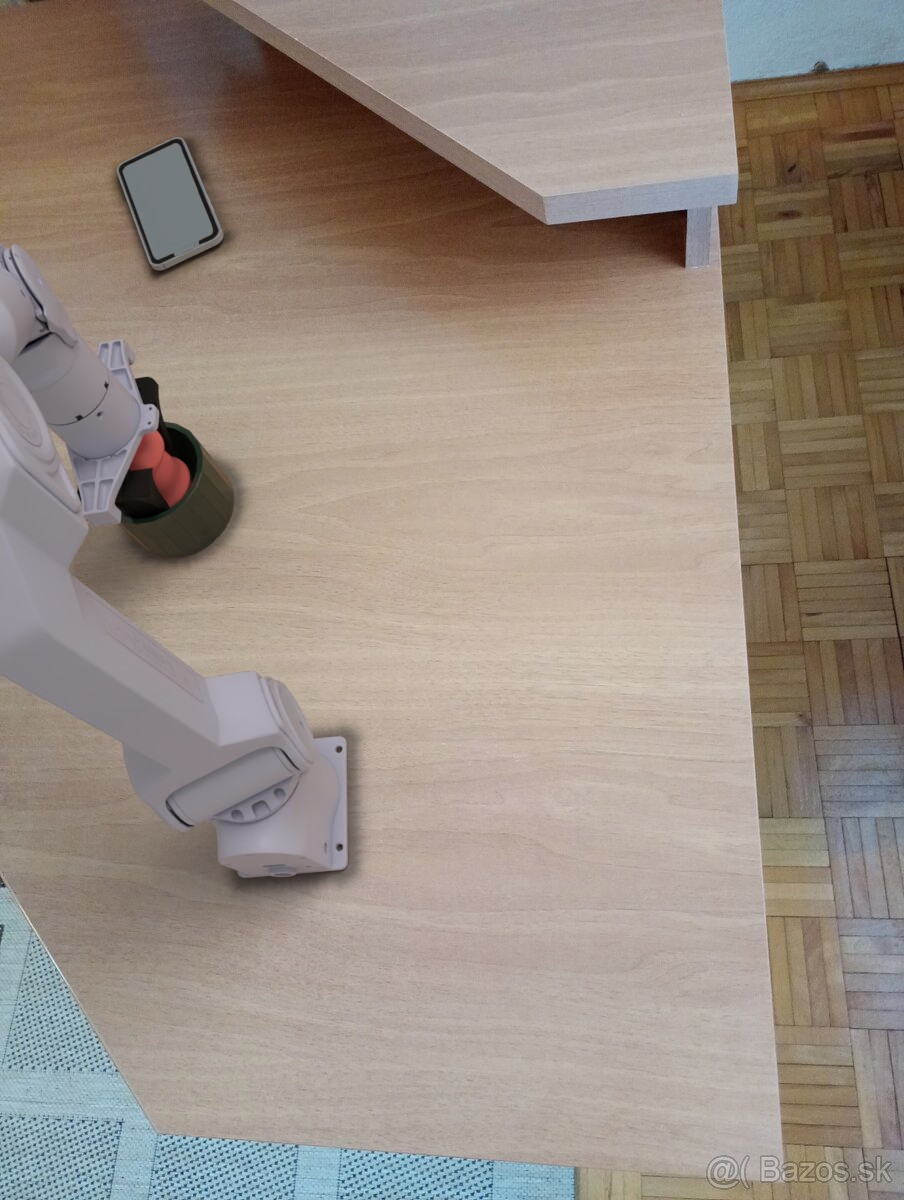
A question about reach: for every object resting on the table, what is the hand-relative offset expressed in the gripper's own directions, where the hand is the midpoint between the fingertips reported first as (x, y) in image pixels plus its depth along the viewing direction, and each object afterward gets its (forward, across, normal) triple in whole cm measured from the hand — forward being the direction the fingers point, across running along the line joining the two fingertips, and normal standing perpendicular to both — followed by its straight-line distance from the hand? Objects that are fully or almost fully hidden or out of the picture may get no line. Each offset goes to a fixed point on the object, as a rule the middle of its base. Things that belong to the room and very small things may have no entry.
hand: (160, 484), depth 85 cm
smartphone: (+4, +33, +3) cm, 33 cm away
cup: (+4, 0, 0) cm, 4 cm away
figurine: (+3, 0, 0) cm, 3 cm away
